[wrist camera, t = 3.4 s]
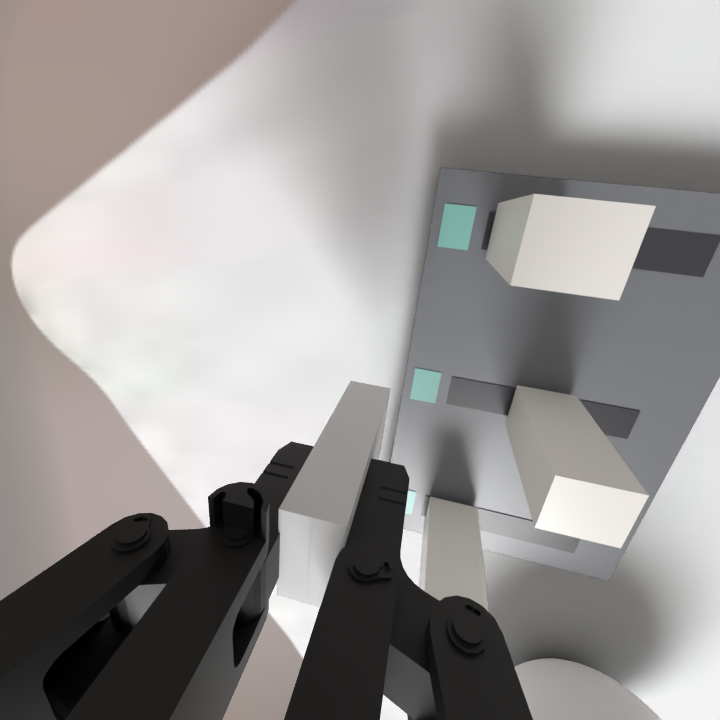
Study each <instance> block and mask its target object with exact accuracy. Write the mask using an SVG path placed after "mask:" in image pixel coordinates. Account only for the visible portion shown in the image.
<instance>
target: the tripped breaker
mask: <svg viewBox="0 0 720 720" xmlns="http://www.w3.org/2000/svg"><path fill="white" fill-rule="evenodd" d="M505 425H506V429H507V432H508V436H509V440H510V443H511V447H512V450H513V454H514V457H515V461H516V464H517V468H518V471H519V475H520V478H521V482H522V485H523V489H524V492H525V496H526V499H527V503H528V506H529V510H530V513H531V517H532V520H533V524H534V527H535V528H538V529H542V530H546V531H550V532H554V533H558V534H563V535H567V536H571V537H575V538H579V539H583V540H588V541H592V542H596V543H600V544H604V545H609V546H613V547H617V548H621V547H622V545H623V543H624V542H625V540H626V538H627V536H628V534H629V532H630V530H631V529H632V527H633V525H634V523H635V521H636V519H637V517H638V515H639V514H640V512H641V510H642V508H643V506H644V504H645V502H646V500H647V499H648V497H649V495H648V493H647V492H646V491H645V489H644V488H643V487H642V485H641V484H640V482H639V481H638V480H637V478H636V477H635V476H634V474H633V473H632V471H631V470H630V469H629V467H628V466H627V465H626V463H625V462H624V460H623V459H622V458H621V456H620V455H619V454H618V452H617V451H616V449H615V448H614V447H613V445H612V444H611V443H610V441H609V440H608V438H607V437H606V436H605V434H604V433H603V432H602V430H601V429H600V427H599V426H598V425H597V423H596V422H595V421H594V419H593V418H592V416H591V415H590V414H589V412H588V411H587V410H586V408H585V407H584V405H583V404H582V403H581V401H580V400H579V399H578V397H577V396H574V395H569V394H563V393H558V392H552V391H547V390H541V389H536V388H530V387H525V386H519V385H517V387H516V391H515V394H514V397H513V401H512V404H511V407H510V410H509V414H508V417H507V420H506V423H505Z"/></svg>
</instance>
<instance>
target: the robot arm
mask: <svg viewBox="0 0 720 720" xmlns="http://www.w3.org/2000/svg"><path fill="white" fill-rule="evenodd" d="M389 392H390V388H385V387H380V386H375V385H369V384H364V383H359V382H354V381H351V382H350V383H349V385H348V387H347V389H346V391H345V392H344V394H343V396H342V398H341V399H340V401H339V403H338V405H337V407H336V408H335V410H334V412H333V414H332V415H331V417H330V419H329V421H328V423H327V424H326V426H325V428H324V430H323V431H322V433H321V435H320V437H319V438H318V440H317V442H316V444H315V446H314V447H313V446H309V445H304V444H300V443H295V442H290V443H289V444H287V445H286V446H284V447H282V448H281V449H279V450H278V451H277V453H276V454H275V456H274V457H273V458H272V460H271V461H270V464H268V465H267V467H266V468H265V470H264V472H263V473H262V474H261V475H260V477H259V478H258V480H257V481H256V482H255V484H253V483H246V482H238V483H232V484H228V485H225V486H223V487H221V488H219V489H217V490H216V491H214V492H213V493H212V494H211V495H210V496H209V497H208V503H209V516H210V527H207V528H202V529H191V530H190V529H188V530H168V524H167V522H166V521H165V520H164V519H163V517H161V516H159V515H156V514H153V513H139V514H136V515H132V516H128V517H125V518H123V519H121V520H119V521H118V522H116V523H114V524H112V525H110V526H109V527H108V528H106V529H105V530H103V531H102V532H100V533H99V534H97V535H96V536H94V537H93V538H91V539H90V540H89V541H87V542H86V543H84V544H83V545H81V546H80V547H78V548H77V549H76V550H74V551H73V552H71V553H70V554H68V555H67V556H65V557H64V558H62V559H61V560H59V561H58V562H56V563H55V564H54V565H52V566H51V567H49V568H48V569H46V570H45V571H43V572H42V573H40V574H39V575H38V576H36V577H35V578H33V579H32V580H30V581H29V582H27V583H26V584H24V585H23V586H21V587H20V588H18V589H17V590H16V591H14V592H13V593H11V594H10V595H8V596H7V597H6V598H4V599H3V600H1V601H0V720H222V719H223V717H224V714H225V712H226V710H227V707H228V705H229V703H230V701H231V698H232V696H233V694H234V691H235V689H236V687H237V685H238V682H239V680H240V678H241V675H242V673H243V671H244V669H245V666H246V664H247V662H248V659H249V657H250V654H251V653H252V650H253V648H254V646H255V643H256V641H257V639H258V637H259V634H260V632H261V630H262V628H263V625H264V623H265V621H266V617H267V613H268V609H269V598H270V595H271V593H272V591H273V589H274V587H275V585H276V582H277V595H280V596H283V597H287V598H290V599H293V600H297V601H300V602H304V603H307V604H310V605H314V606H317V607H320V609H319V612H318V615H317V618H316V622H315V625H314V628H313V631H312V634H311V637H310V640H309V643H308V647H307V650H306V653H305V656H304V659H303V662H302V665H301V669H300V672H299V675H298V678H297V681H296V684H295V687H294V690H293V693H292V697H291V700H290V703H289V706H288V709H287V712H286V715H285V719H284V720H380V713H381V706H382V698H383V694H384V695H385V696H386V697H387V698H388V699H390V700H391V701H392V702H393V703H395V704H396V705H397V706H398V707H400V708H401V709H402V710H403V711H404V712H406V713H407V715H408V720H533V718H532V715H531V712H530V710H529V707H528V704H527V701H526V698H525V695H524V693H523V690H522V687H521V684H520V681H519V679H518V676H517V673H516V670H515V667H514V664H513V662H512V659H511V656H510V653H509V650H508V648H507V645H506V642H505V639H504V636H503V633H502V632H501V630H500V628H499V626H498V624H497V622H496V620H495V618H494V617H493V616H492V615H491V614H490V613H489V612H488V611H487V610H486V609H485V608H484V607H483V606H482V605H480V604H478V603H477V602H475V601H473V600H472V599H470V598H466V597H461V596H457V595H456V596H450V597H444V598H443V599H442V600H440V601H439V600H438V599H436V598H434V597H433V596H431V595H430V594H428V593H426V592H425V591H423V590H422V589H421V588H419V587H418V586H417V585H415V584H414V583H413V581H412V580H411V579H410V578H409V577H408V576H407V574H406V572H405V570H404V568H403V566H402V563H401V559H400V549H401V541H402V534H403V526H404V518H405V511H406V503H407V495H408V488H409V480H410V478H409V476H408V474H407V471H406V469H405V466H403V465H399V464H394V463H390V462H385V461H381V460H378V457H379V454H380V450H381V444H382V438H383V431H384V425H385V418H386V412H387V405H388V399H389Z"/></svg>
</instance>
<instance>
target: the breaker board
mask: <svg viewBox="0 0 720 720" xmlns="http://www.w3.org/2000/svg"><path fill="white" fill-rule="evenodd" d="M532 194H542V195H552V196H562V197H572V198H582V199H592V200H602V201H612V202H622V203H632V204H642V205H652V206H656V207H655V210H654V212H653V215H652V218H651V220H650V223H649V225H648V228H647V230H646V233H645V236H644V238H643V241H642V243H641V246H640V248H639V251H638V254H637V256H636V259H635V261H634V264H633V266H632V269H631V272H630V274H629V277H628V279H627V282H626V284H625V287H624V290H623V292H622V295H621V297H620V300H619V301H618V300H611V299H604V298H597V297H590V296H582V295H575V294H568V293H561V292H554V291H547V290H540V289H532V288H525V287H518V286H511V285H509V284H508V283H507V281H506V280H505V279H504V278H503V277H502V276H501V275H500V274H499V273H498V272H497V271H496V270H495V269H494V267H493V266H492V265H491V264H490V263H489V262H488V261H487V260H486V259H485V258H486V253H487V249H488V245H489V240H490V236H491V232H492V228H493V223H494V219H495V215H496V210H497V206H498V203H500V202H504V201H508V200H512V199H516V198H520V197H524V196H528V195H532ZM719 377H720V194H719V193H708V192H698V191H687V190H676V189H665V188H654V187H644V186H633V185H622V184H611V183H600V182H590V181H579V180H568V179H557V178H547V177H536V176H525V175H514V174H503V173H493V172H482V171H471V170H460V169H449V168H440V174H439V179H438V185H437V191H436V197H435V203H434V209H433V215H432V221H431V227H430V233H429V238H428V244H427V250H426V256H425V262H424V268H423V274H422V280H421V286H420V292H419V298H418V303H417V309H416V315H415V321H414V327H413V333H412V339H411V345H410V351H409V357H408V363H407V368H406V374H405V380H404V386H403V392H402V398H401V404H400V410H399V416H398V422H397V427H396V433H395V439H394V445H393V451H392V457H391V463H394V464H399V465H403V466H405V469H406V471H407V474H408V476H409V478H410V480H409V488H408V495H407V503H406V511H405V518H404V526H403V529H405V530H409V531H413V532H417V533H421V534H423V525H424V521H425V516H426V512H427V508H428V503H429V499H430V497H435V498H439V499H443V500H447V501H451V502H456V503H460V504H464V505H468V506H473V507H477V508H478V516H479V525H480V534H481V544H482V549H484V550H488V551H492V552H496V553H499V554H503V555H507V556H511V557H515V558H519V559H523V560H527V561H531V562H535V563H539V564H543V565H547V566H551V567H555V568H559V569H562V570H566V571H570V572H574V573H578V574H582V575H586V576H590V577H594V578H598V579H602V580H606V581H609V580H610V578H611V576H612V574H613V572H614V570H615V569H616V567H617V565H618V563H619V561H620V559H621V558H622V556H623V554H624V552H625V550H626V548H627V546H628V545H629V543H630V541H631V539H632V537H633V535H634V534H635V532H636V530H637V528H638V526H639V524H640V523H641V521H642V519H643V517H644V515H645V513H646V511H647V510H648V508H649V506H650V504H651V502H652V500H653V499H654V497H655V495H656V493H657V491H658V489H659V488H660V486H661V484H662V482H663V480H664V478H665V477H666V475H667V473H668V471H669V469H670V467H671V465H672V464H673V462H674V460H675V458H676V456H677V454H678V453H679V451H680V449H681V447H682V445H683V443H684V442H685V440H686V438H687V436H688V434H689V432H690V430H691V429H692V427H693V425H694V423H695V421H696V419H697V418H698V416H699V414H700V412H701V410H702V408H703V407H704V405H705V403H706V401H707V399H708V397H709V396H710V394H711V392H712V390H713V388H714V386H715V384H716V383H717V381H718V379H719ZM517 385H519V386H525V387H530V388H536V389H541V390H547V391H552V392H558V393H563V394H569V395H574V396H577V397H578V399H579V400H580V401H581V403H582V404H583V405H584V407H585V408H586V410H587V411H588V412H589V414H590V415H591V416H592V418H593V419H594V421H595V422H596V423H597V425H598V426H599V427H600V429H601V430H602V432H603V433H604V434H605V436H606V437H607V438H608V440H609V441H610V443H611V444H612V445H613V447H614V448H615V449H616V451H617V452H618V454H619V455H620V456H621V458H622V459H623V460H624V462H625V463H626V465H627V466H628V467H629V469H630V470H631V471H632V473H633V474H634V476H635V477H636V478H637V480H638V481H639V482H640V484H641V485H642V487H643V488H644V489H645V491H646V492H647V493H648V495H649V497H648V499H647V500H646V502H645V504H644V506H643V508H642V510H641V512H640V514H639V515H638V517H637V519H636V521H635V523H634V525H633V527H632V529H631V530H630V532H629V534H628V536H627V538H626V540H625V542H624V543H623V545H622V547H621V548H617V547H613V546H609V545H604V544H600V543H596V542H592V541H588V540H583V539H579V538H575V537H571V536H567V535H563V534H558V533H554V532H550V531H546V530H542V529H538V528H535V527H534V524H533V520H532V517H531V513H530V510H529V506H528V503H527V499H526V496H525V492H524V489H523V485H522V482H521V478H520V475H519V471H518V468H517V464H516V461H515V457H514V454H513V450H512V447H511V443H510V440H509V436H508V432H507V429H506V425H505V423H506V420H507V417H508V414H509V410H510V407H511V404H512V401H513V397H514V394H515V391H516V387H517Z"/></svg>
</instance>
